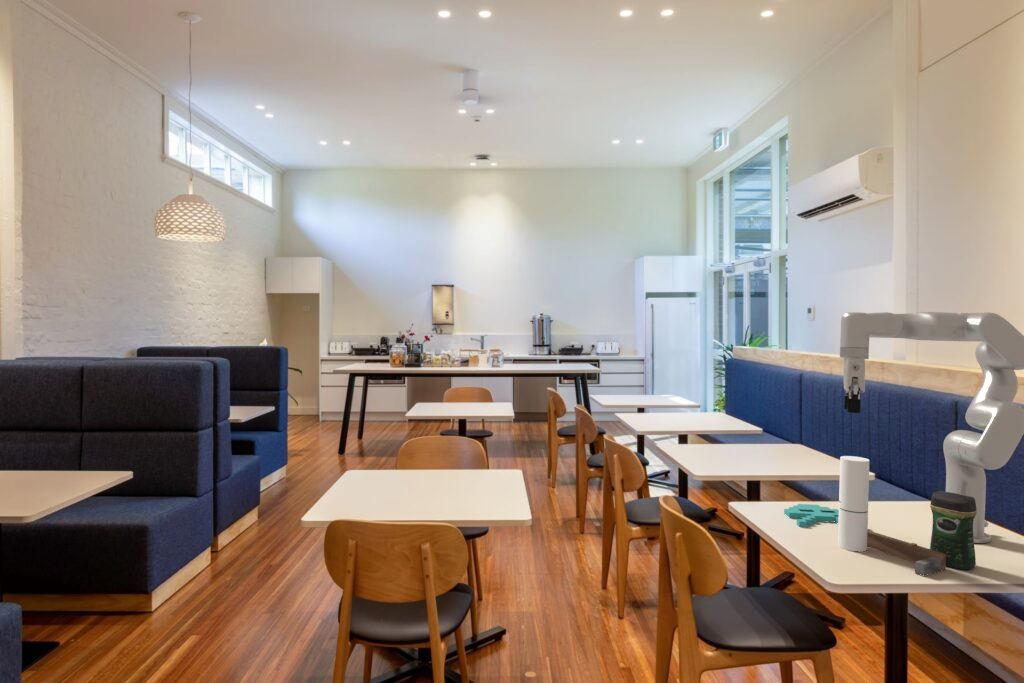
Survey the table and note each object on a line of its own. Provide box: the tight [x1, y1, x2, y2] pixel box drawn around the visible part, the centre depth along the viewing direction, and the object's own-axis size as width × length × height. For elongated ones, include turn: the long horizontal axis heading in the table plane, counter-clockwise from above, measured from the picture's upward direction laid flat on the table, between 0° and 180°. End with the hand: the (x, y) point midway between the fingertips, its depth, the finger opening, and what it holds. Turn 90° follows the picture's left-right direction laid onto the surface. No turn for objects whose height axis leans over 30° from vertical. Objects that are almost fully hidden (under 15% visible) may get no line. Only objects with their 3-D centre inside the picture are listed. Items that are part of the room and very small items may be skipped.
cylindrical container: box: [837, 455, 870, 553], centre depth 168 cm, size 7×7×25 cm
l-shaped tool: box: [867, 528, 947, 576], centre depth 163 cm, size 10×27×4 cm, turn 28°
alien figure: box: [783, 503, 839, 528], centre depth 195 cm, size 20×2×20 cm
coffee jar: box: [929, 490, 977, 570], centre depth 158 cm, size 10×8×19 cm
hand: (851, 410), depth 180 cm, fingers open, 9 cm apart
